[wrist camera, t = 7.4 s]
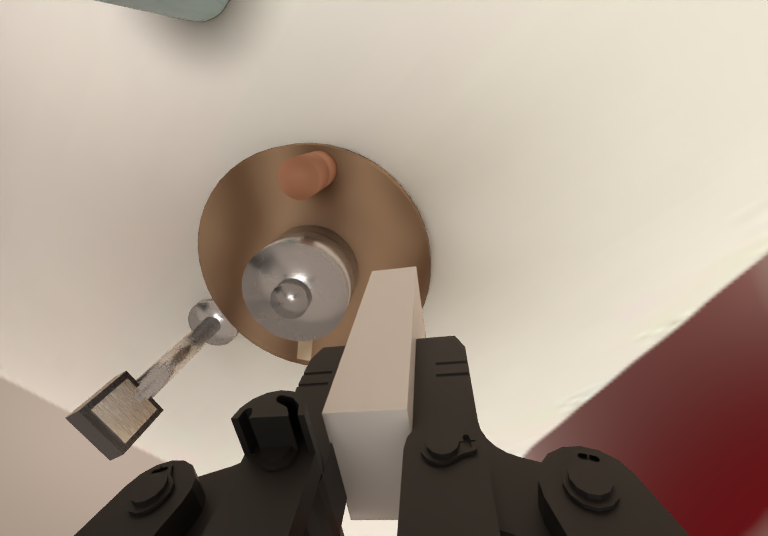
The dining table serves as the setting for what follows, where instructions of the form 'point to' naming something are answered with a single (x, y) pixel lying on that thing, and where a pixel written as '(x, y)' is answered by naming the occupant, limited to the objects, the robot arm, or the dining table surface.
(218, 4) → the cup
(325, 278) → the cover
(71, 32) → the dining table surface
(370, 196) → the turntable
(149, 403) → the indicator post
